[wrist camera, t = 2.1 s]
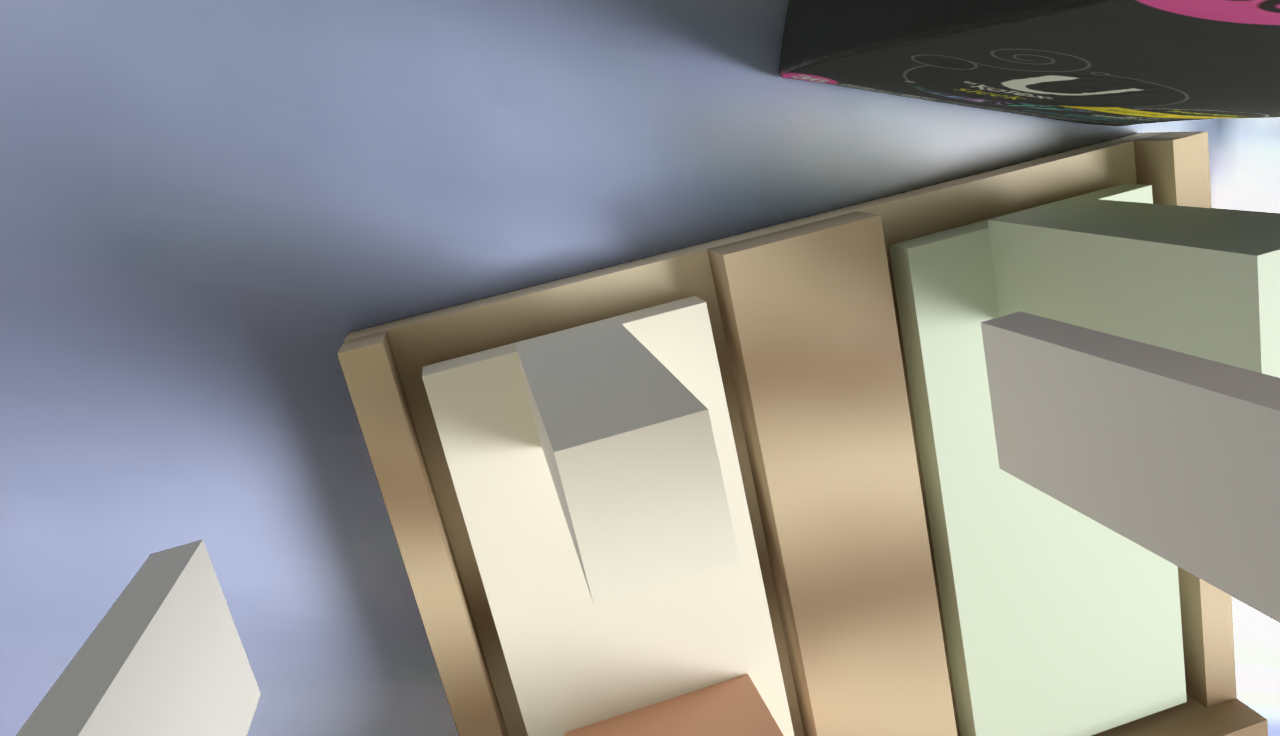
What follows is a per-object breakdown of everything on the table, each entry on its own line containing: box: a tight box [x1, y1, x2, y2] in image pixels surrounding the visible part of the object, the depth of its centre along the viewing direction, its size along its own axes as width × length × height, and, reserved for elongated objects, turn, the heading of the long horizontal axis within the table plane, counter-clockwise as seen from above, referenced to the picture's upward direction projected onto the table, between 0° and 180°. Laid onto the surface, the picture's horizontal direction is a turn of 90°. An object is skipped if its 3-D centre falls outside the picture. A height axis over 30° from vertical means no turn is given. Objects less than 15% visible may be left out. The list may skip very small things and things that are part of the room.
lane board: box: [337, 132, 1268, 736], centre depth 25 cm, size 18×22×4 cm
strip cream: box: [422, 296, 794, 736], centre depth 20 cm, size 16×7×9 cm, turn 13°
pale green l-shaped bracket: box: [889, 184, 1280, 736], centre depth 22 cm, size 16×7×9 cm, turn 13°
